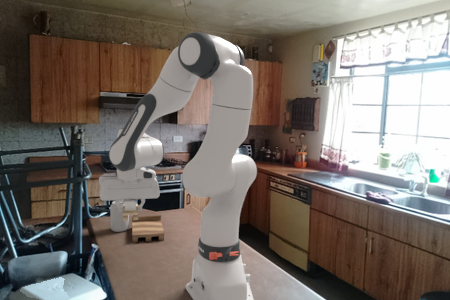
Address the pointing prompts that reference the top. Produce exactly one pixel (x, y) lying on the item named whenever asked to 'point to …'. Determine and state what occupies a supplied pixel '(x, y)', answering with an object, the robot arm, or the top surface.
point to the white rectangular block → (130, 204)
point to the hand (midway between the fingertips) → (130, 211)
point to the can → (118, 218)
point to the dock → (147, 228)
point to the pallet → (130, 213)
